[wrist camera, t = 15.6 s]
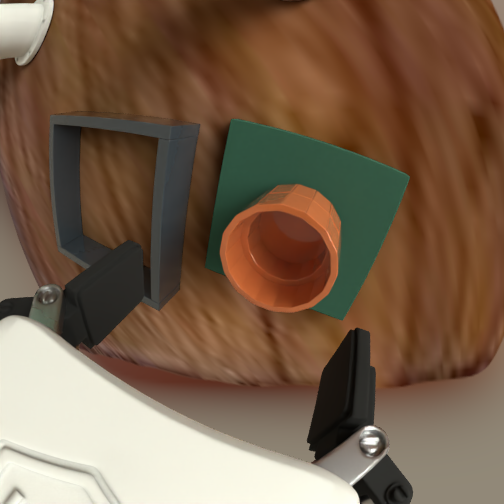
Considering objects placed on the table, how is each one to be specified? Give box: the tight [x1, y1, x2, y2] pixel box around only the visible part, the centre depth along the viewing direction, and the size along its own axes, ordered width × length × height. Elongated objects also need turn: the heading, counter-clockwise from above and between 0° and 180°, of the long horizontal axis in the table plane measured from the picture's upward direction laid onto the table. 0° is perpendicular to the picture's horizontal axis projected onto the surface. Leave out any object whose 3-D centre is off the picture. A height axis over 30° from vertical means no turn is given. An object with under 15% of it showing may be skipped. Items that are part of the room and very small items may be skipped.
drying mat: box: [205, 119, 410, 320], centre depth 20 cm, size 13×13×1 cm
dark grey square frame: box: [49, 111, 200, 311], centre depth 24 cm, size 17×17×4 cm
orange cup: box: [220, 184, 342, 313], centre depth 17 cm, size 7×7×6 cm
